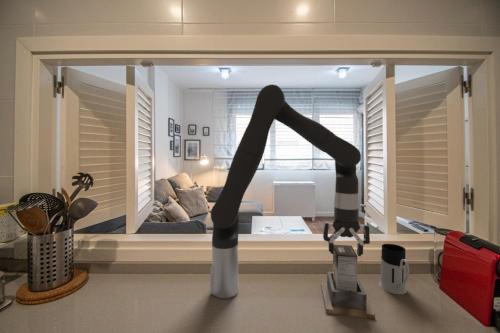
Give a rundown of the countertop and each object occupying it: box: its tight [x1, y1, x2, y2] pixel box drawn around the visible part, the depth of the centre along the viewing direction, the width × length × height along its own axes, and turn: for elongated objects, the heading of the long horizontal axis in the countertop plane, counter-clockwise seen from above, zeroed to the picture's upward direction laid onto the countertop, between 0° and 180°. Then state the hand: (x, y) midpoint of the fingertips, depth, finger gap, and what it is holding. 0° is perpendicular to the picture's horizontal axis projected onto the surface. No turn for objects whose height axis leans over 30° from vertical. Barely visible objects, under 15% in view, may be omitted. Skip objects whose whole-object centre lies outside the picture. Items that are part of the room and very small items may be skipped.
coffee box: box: [332, 244, 358, 292], centre depth 80 cm, size 9×6×16 cm
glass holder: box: [378, 243, 410, 295], centre depth 84 cm, size 9×14×15 cm, turn 174°
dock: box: [320, 271, 376, 320], centre depth 80 cm, size 14×16×6 cm
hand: (345, 254), depth 79 cm, fingers open, 8 cm apart
